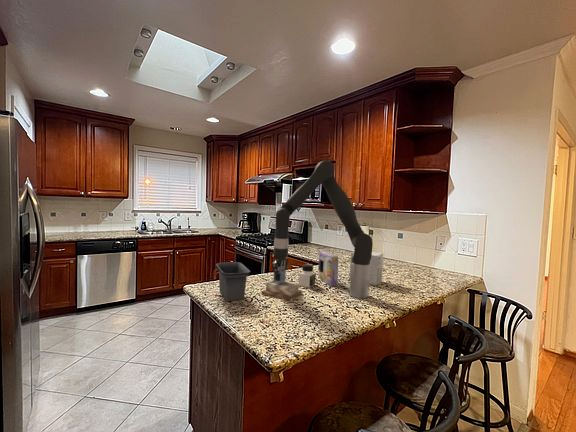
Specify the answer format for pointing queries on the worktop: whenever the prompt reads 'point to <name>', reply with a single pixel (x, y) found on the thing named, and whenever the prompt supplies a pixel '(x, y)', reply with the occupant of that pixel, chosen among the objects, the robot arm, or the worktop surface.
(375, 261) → the supplement box
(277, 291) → the well block
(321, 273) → the cake pan box
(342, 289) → the worktop surface
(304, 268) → the medicine bottle
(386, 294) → the worktop surface
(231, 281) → the storage bin
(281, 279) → the bracket
